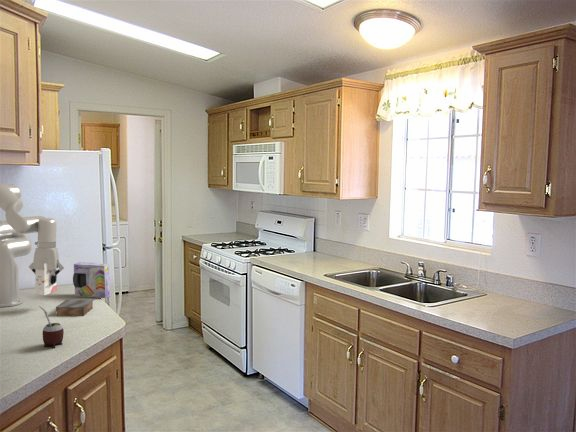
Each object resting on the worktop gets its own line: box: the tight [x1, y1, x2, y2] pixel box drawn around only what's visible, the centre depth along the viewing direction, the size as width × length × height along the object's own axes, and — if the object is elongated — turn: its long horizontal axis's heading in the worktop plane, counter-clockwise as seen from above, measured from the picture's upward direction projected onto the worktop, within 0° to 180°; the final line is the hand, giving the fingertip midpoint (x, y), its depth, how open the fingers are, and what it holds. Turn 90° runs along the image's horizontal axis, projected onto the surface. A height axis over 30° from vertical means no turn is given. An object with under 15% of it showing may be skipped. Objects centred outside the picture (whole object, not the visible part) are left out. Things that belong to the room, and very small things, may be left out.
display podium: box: [55, 299, 94, 317], centre depth 219 cm, size 12×12×4 cm
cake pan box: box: [72, 261, 111, 299], centre depth 245 cm, size 19×5×18 cm, turn 77°
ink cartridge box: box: [35, 263, 58, 296], centre depth 219 cm, size 9×5×15 cm, turn 169°
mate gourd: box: [38, 305, 65, 349], centre depth 176 cm, size 8×8×15 cm
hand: (46, 282), depth 219 cm, fingers closed on ink cartridge box, 5 cm apart
